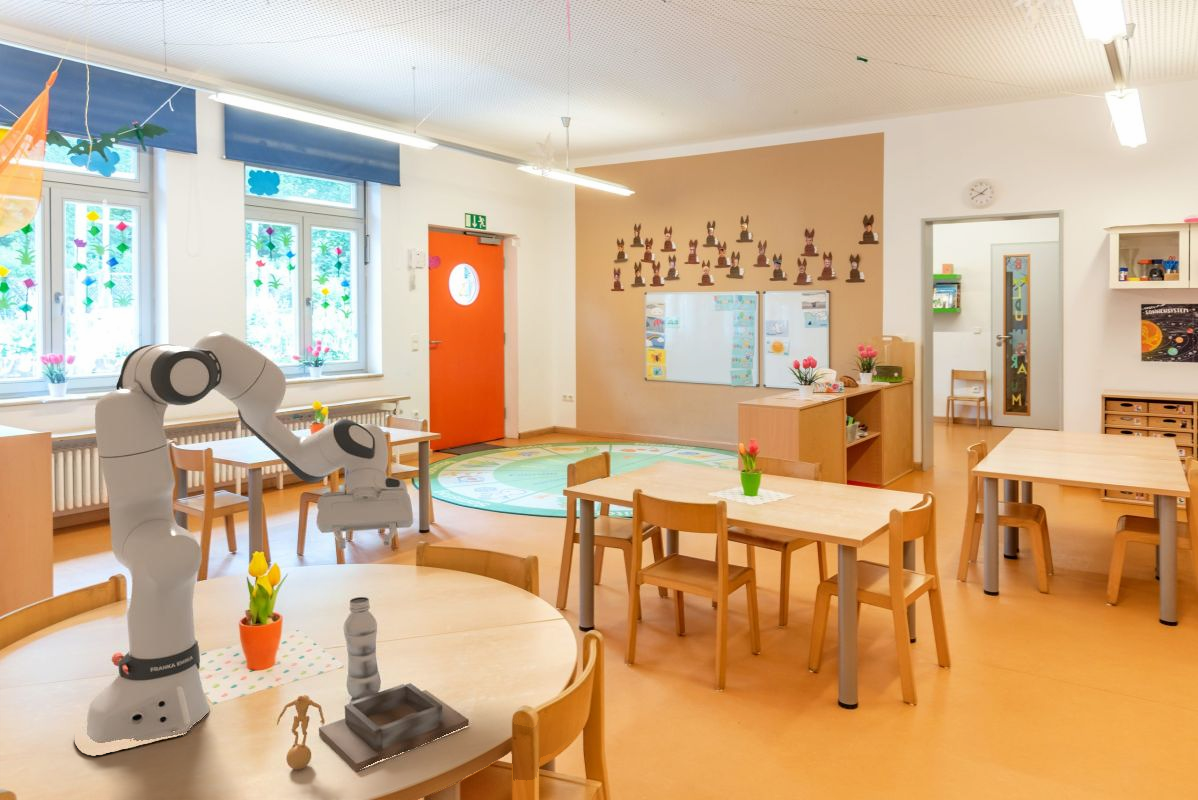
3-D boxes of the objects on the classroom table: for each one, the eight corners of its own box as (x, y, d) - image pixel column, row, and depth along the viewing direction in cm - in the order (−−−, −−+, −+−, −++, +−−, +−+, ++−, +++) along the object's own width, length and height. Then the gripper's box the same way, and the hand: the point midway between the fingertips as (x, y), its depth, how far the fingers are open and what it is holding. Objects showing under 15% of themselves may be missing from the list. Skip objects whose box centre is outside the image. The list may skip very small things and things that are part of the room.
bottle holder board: (356, 771, 140) (355, 744, 139) (319, 735, 152) (317, 709, 151) (468, 727, 154) (467, 701, 154) (426, 696, 166) (425, 673, 166)
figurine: (270, 773, 140) (266, 706, 138) (286, 754, 146) (282, 689, 144) (318, 774, 139) (314, 707, 138) (332, 755, 145) (328, 690, 144)
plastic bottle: (372, 704, 163) (367, 607, 161) (340, 701, 165) (335, 604, 162) (387, 689, 170) (382, 595, 167) (356, 687, 171) (351, 593, 169)
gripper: (315, 485, 180) (311, 542, 172) (412, 480, 184) (411, 535, 175) (320, 500, 185) (316, 556, 177) (414, 495, 189) (414, 549, 180)
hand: (364, 546), depth 176 cm, fingers open, 8 cm apart
